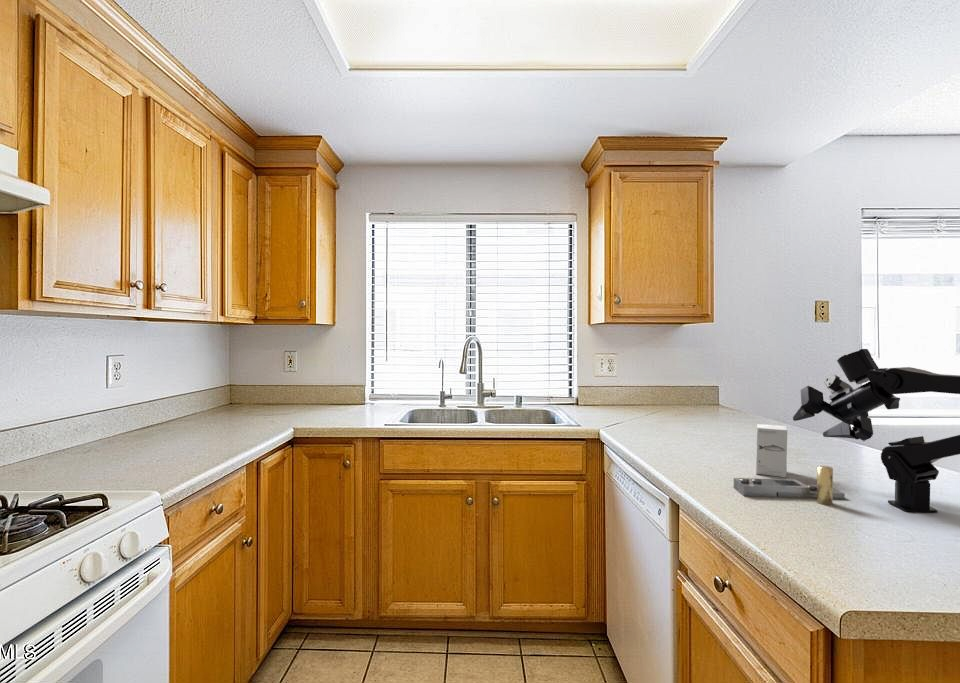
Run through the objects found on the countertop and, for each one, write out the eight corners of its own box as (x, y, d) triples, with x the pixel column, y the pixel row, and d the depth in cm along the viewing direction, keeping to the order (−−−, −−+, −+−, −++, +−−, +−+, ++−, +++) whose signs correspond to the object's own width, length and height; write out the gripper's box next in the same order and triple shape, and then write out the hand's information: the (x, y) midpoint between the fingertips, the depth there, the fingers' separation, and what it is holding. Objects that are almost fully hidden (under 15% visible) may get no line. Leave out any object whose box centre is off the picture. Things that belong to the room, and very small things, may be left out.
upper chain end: (809, 497, 129) (810, 484, 129) (744, 496, 131) (744, 483, 131) (795, 489, 136) (796, 476, 136) (733, 487, 138) (733, 475, 138)
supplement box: (755, 474, 150) (755, 427, 150) (756, 468, 157) (756, 423, 156) (787, 478, 147) (787, 429, 146) (786, 471, 153) (787, 425, 153)
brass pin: (835, 505, 124) (835, 469, 124) (820, 504, 124) (821, 468, 124) (828, 501, 127) (828, 465, 127) (814, 500, 127) (814, 465, 127)
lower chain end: (844, 498, 129) (844, 491, 129) (778, 497, 130) (778, 489, 130) (828, 490, 136) (828, 482, 136) (765, 488, 137) (765, 481, 137)
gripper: (889, 390, 137) (835, 417, 149) (826, 356, 135) (777, 386, 148) (897, 428, 130) (839, 453, 142) (830, 392, 129) (778, 420, 141)
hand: (808, 427), depth 143 cm, fingers open, 9 cm apart
